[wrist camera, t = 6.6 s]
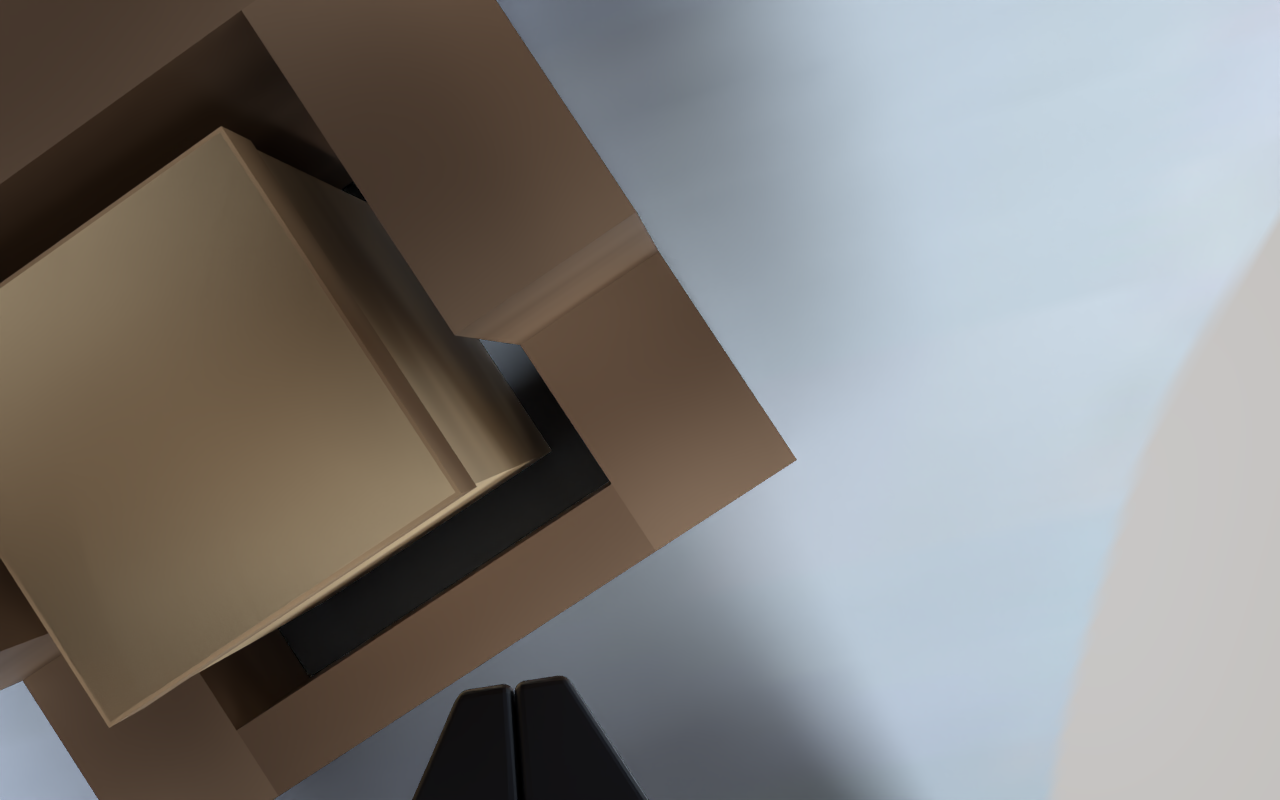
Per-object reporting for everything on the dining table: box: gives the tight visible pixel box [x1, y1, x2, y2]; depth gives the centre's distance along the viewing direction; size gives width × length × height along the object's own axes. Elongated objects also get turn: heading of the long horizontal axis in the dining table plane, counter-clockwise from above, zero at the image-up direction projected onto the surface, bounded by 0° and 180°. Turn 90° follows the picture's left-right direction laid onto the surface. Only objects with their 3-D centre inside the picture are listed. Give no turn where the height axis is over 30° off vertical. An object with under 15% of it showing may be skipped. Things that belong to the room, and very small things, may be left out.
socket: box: [0, 0, 797, 800], centre depth 16 cm, size 11×12×7 cm
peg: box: [0, 126, 552, 728], centre depth 16 cm, size 5×5×7 cm
